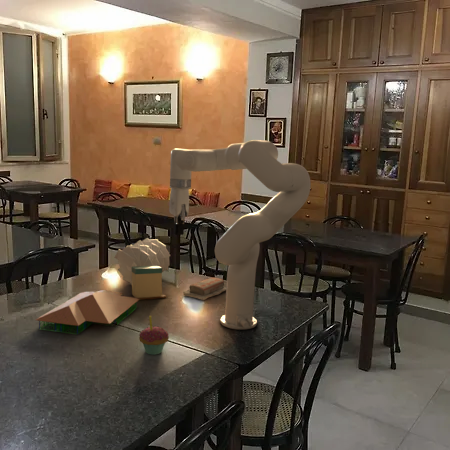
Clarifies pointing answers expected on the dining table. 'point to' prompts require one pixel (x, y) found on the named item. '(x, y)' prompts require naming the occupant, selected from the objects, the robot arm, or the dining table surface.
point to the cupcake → (153, 338)
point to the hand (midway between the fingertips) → (178, 234)
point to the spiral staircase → (142, 257)
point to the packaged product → (206, 288)
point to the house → (89, 310)
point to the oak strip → (151, 297)
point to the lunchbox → (146, 281)
